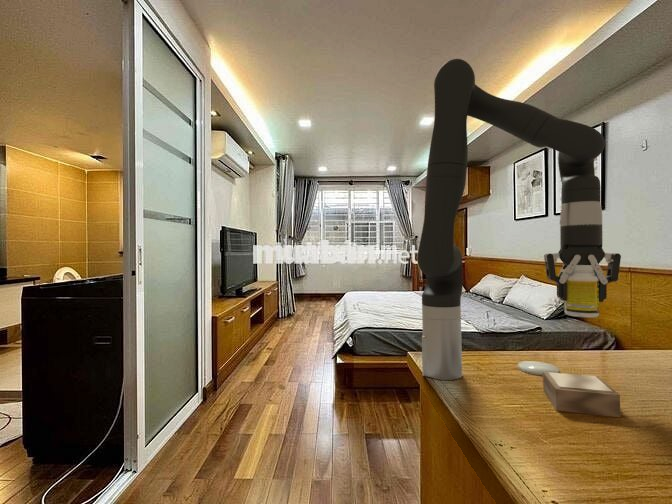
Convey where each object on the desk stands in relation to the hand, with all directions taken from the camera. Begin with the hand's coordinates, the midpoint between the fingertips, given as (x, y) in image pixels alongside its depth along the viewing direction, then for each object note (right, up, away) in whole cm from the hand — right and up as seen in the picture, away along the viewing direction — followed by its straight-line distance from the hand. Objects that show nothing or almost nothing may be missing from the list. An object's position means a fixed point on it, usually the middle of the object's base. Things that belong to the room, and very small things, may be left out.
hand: (581, 300), depth 76 cm
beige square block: (-6, -19, -7) cm, 21 cm away
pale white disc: (-2, -19, +13) cm, 23 cm away
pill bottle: (0, -3, 0) cm, 3 cm away
